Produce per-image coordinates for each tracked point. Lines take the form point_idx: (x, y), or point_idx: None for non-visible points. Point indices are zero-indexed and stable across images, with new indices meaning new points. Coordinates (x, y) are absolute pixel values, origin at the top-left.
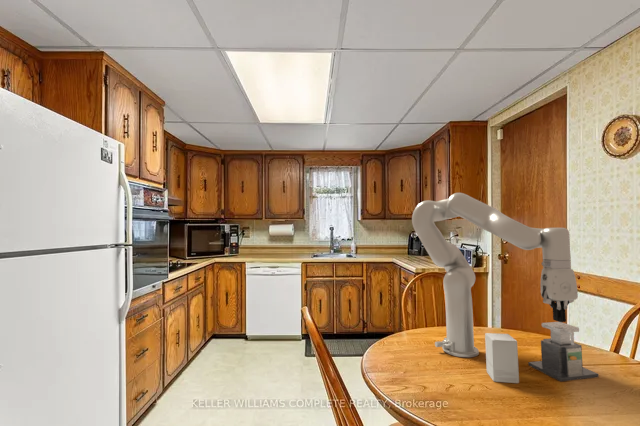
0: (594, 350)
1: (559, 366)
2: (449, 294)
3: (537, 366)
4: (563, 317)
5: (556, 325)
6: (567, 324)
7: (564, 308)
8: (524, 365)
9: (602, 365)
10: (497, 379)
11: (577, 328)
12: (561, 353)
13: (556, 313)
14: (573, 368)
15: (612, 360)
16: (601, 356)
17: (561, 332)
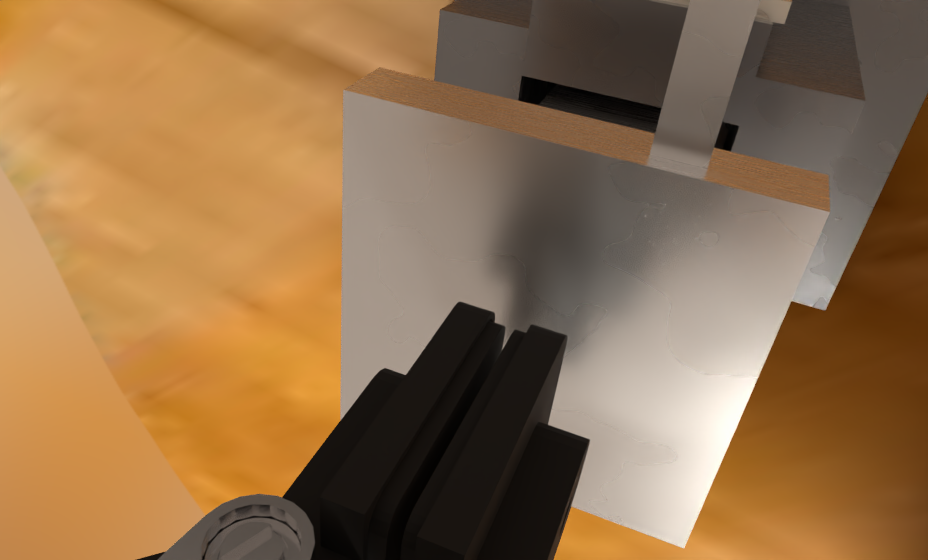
0: (62, 197)
1: (848, 26)
2: None
3: (861, 217)
4: (473, 380)
5: (595, 365)
6: (358, 293)
7: (304, 542)
8: (864, 311)
9: (221, 3)
10: None
11: (385, 92)
12: (809, 60)
13: (552, 547)
14: None
15: (78, 33)
16: (95, 115)
17: (795, 173)
